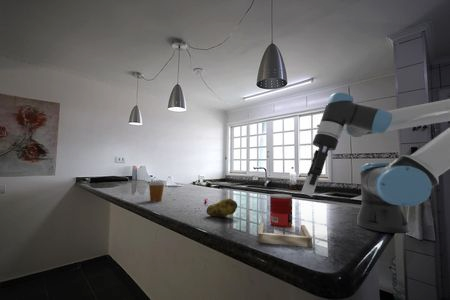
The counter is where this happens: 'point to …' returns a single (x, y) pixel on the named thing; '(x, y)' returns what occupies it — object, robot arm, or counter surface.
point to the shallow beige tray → (285, 237)
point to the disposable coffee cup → (156, 190)
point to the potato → (222, 208)
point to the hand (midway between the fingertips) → (306, 194)
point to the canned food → (281, 210)
